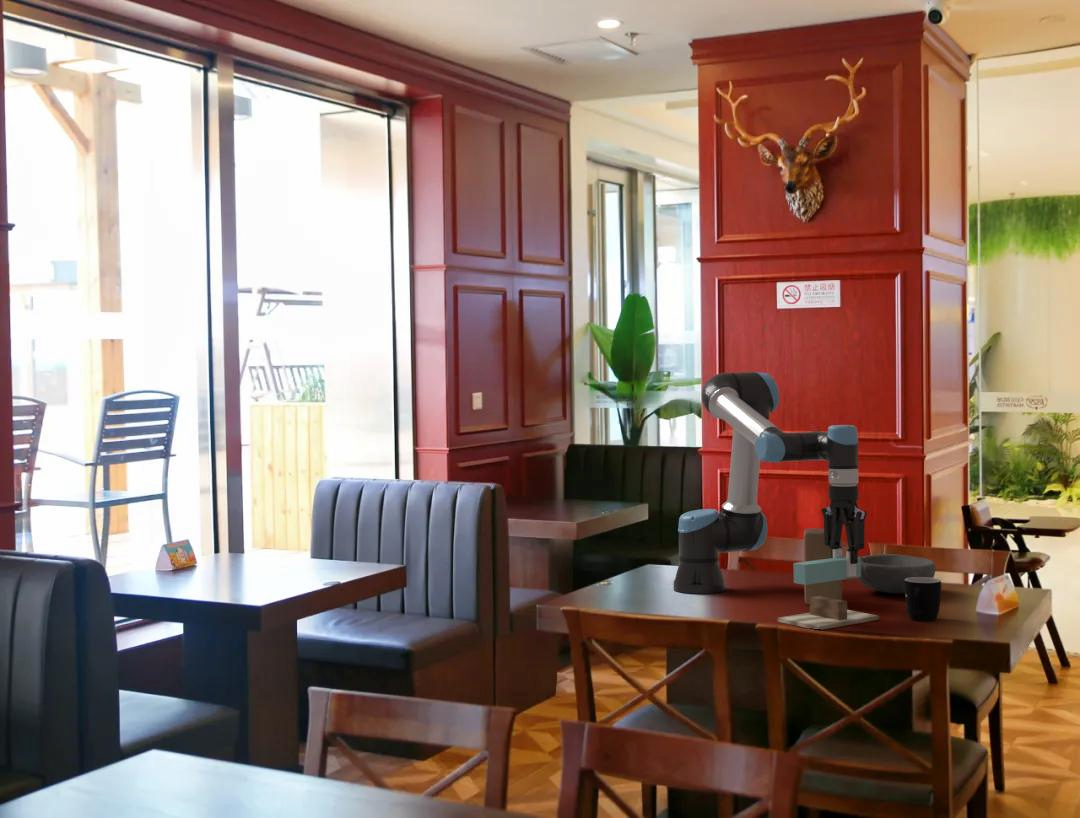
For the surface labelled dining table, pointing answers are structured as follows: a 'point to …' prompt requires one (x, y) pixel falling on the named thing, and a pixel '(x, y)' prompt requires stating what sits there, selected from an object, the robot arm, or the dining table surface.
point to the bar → (823, 570)
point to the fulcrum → (827, 615)
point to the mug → (923, 598)
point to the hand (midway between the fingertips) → (844, 574)
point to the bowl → (893, 571)
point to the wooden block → (819, 551)
